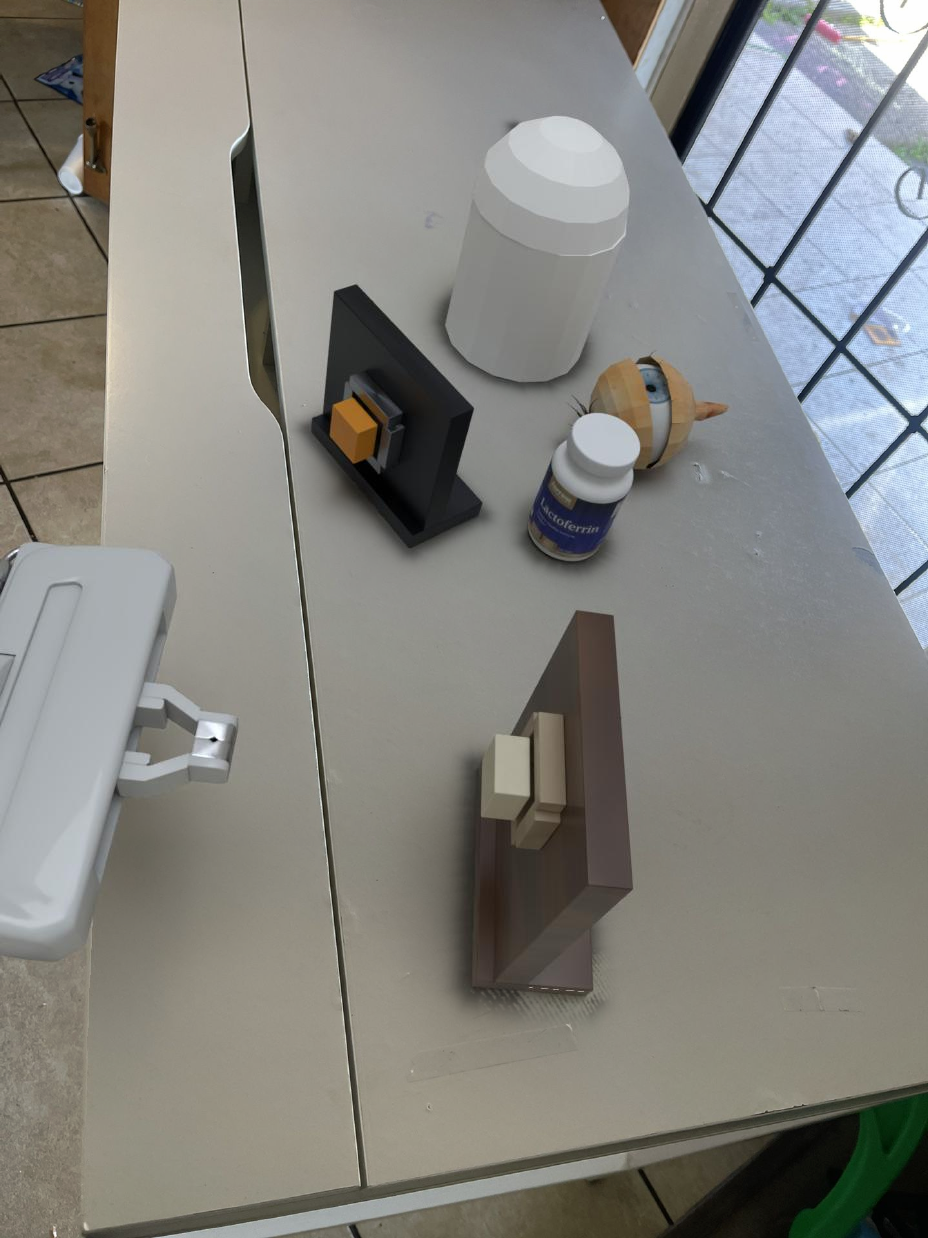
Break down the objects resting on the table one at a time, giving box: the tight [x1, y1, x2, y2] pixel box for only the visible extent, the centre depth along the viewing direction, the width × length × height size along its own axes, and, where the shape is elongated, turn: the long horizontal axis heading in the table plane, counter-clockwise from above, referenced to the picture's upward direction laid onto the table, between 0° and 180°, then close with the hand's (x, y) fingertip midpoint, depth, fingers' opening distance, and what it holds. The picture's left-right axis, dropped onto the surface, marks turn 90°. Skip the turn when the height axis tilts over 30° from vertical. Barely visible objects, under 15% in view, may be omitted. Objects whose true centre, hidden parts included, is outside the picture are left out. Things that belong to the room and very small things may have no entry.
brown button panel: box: [471, 609, 634, 997], centre depth 51 cm, size 7×14×20 cm, turn 178°
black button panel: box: [310, 283, 483, 549], centre depth 70 cm, size 7×14×14 cm, turn 38°
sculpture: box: [566, 350, 730, 470], centre depth 78 cm, size 9×9×15 cm
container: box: [444, 115, 631, 383], centre depth 80 cm, size 14×13×20 cm
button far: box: [330, 398, 378, 464], centre depth 67 cm, size 2×3×3 cm, turn 38°
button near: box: [481, 733, 530, 820], centre depth 46 cm, size 2×3×3 cm, turn 178°
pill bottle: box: [527, 413, 640, 562], centre depth 71 cm, size 6×6×11 cm
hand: (233, 750), depth 44 cm, fingers closed
